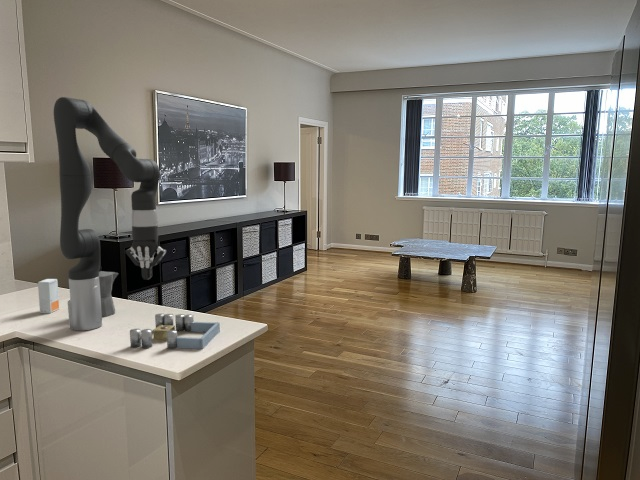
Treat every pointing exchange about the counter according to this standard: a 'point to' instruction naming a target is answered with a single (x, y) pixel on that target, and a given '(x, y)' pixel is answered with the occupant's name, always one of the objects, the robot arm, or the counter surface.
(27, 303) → the counter surface
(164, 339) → the yellow knobbed block
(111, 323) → the counter surface
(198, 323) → the parts bay
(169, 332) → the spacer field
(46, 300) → the skincare box
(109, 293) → the coffeepot
